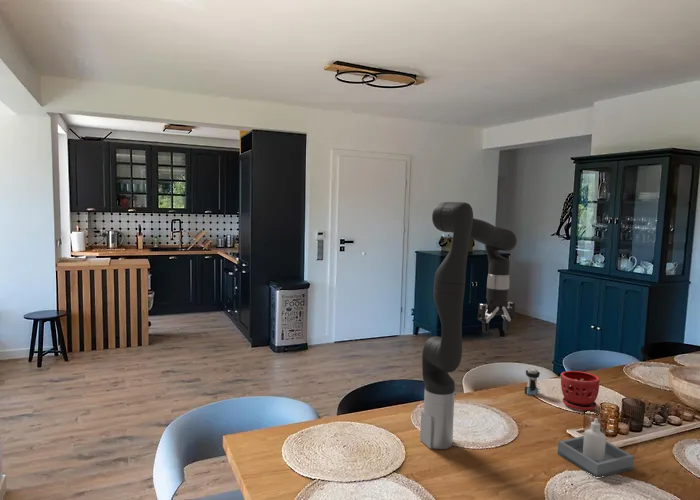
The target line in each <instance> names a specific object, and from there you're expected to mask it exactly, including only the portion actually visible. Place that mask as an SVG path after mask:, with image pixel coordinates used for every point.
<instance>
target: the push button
mask: <svg viewBox="0 0 700 500" xmlns="http://www.w3.org/2000/svg"><path fill="white" fill-rule="evenodd" d="M540 374H541V373H540V372H539V370H538V369H537V368H533V367H530V368H528V369H526V370H525V375H526V377H527V386H524V393H525V395H527V396H536V395H538V394H539V393H541V389H539V387H538V386H537V384H538V383H537V378H540Z"/></svg>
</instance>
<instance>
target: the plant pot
mask: <svg viewBox="0 0 700 500" xmlns="http://www.w3.org/2000/svg"><path fill="white" fill-rule="evenodd" d="M560 387H561V392H562V395H563V398H562V402H563V404H564V405H565V406H566V407H568V408H569V407H570V409H573V410H575V411H582V412H583V411H584V412H587V411H586V410H590V411H593V410H595V409H596V408H597V405H598V404H597V402H596V400H597V398H598V395H599V392H600V377H599V376H597V375H595V374H593V373H589V372H586V371H585V372H584V371H578V370H568V371H563V372H561V374H560Z"/></svg>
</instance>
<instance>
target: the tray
mask: <svg viewBox="0 0 700 500" xmlns="http://www.w3.org/2000/svg"><path fill="white" fill-rule="evenodd" d="M583 443H584V435H582V436H576V437H573V438H572V437H571V438H568V439H563V440H559V441H557V455H558V456H560V457H562V458H563V459H565V460H566V461H567V462H569V463H571V464H572V465H575V466H576V467H578V468H579V469H581V470H582V471H584V472H585V471H586V472H585V473H587V472H588V473H590V474H592V475H593V476H595V477H602V476H606V477H609V476H608V475H610V476H614V475H617V474H622V473H625V472H629V471H633V470H634V459H635V456H634V455H632V454H630V453H629V452H627V451H625V450H623V449H621V448H620V447H617V446H615V445H614V444H611V442H609V441H606V445H605V459H604V461H602V462H597V461H594V460H592V459H591V458H589V457H587V456H586V455H584V454H583ZM588 473H587V474H588ZM590 474H589V475H590ZM593 476H592V477H593ZM602 478H603V477H602Z"/></svg>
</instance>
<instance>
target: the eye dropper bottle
mask: <svg viewBox="0 0 700 500" xmlns="http://www.w3.org/2000/svg"><path fill="white" fill-rule="evenodd" d="M583 436H584V443H583V454H584V455H586V456H587V457H589V458H591V459H592V460H594V461H597V462H602V461H604V459H605V445H606V442H607V441H606V440H607V436H606V435H605V433H603V432H602V431H601V423H600V422H599V419H598V418H596V417H595V418H594V420H593V421H591V424H590V428H587V429H585V430H584V433H583Z"/></svg>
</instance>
